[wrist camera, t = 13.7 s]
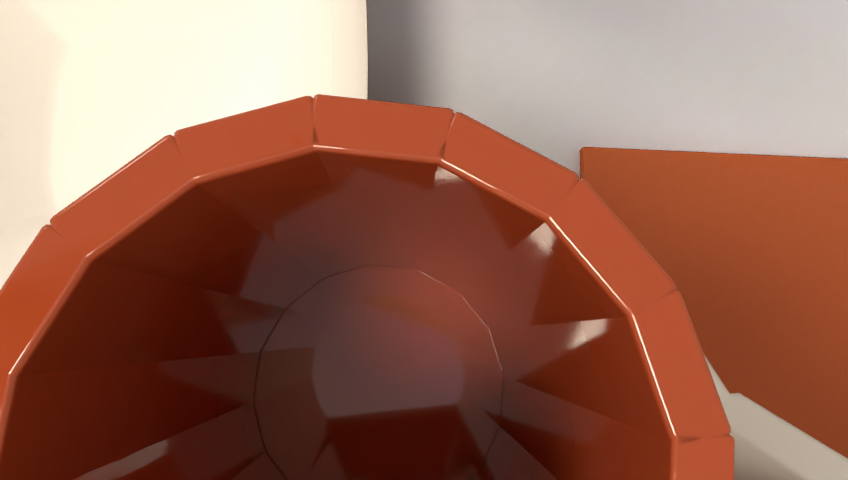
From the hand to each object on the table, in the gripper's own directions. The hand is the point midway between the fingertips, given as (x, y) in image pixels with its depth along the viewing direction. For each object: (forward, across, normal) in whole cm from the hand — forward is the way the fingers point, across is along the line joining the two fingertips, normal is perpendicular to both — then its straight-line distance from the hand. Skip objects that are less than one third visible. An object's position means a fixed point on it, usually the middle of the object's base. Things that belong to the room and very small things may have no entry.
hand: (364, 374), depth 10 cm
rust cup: (+3, 0, +4) cm, 5 cm away
